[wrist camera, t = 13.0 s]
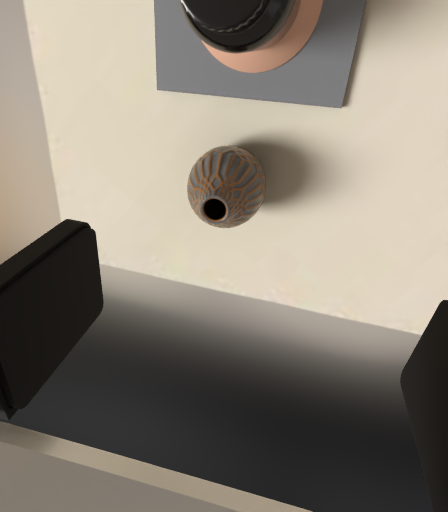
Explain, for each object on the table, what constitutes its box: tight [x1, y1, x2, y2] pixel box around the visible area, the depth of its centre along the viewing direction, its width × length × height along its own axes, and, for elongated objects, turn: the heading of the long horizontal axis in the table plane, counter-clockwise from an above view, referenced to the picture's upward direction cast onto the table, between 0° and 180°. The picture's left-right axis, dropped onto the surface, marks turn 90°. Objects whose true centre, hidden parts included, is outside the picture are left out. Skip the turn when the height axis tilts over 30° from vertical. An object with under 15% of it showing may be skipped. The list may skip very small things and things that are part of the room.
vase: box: [187, 146, 266, 228], centre depth 30 cm, size 7×7×9 cm
